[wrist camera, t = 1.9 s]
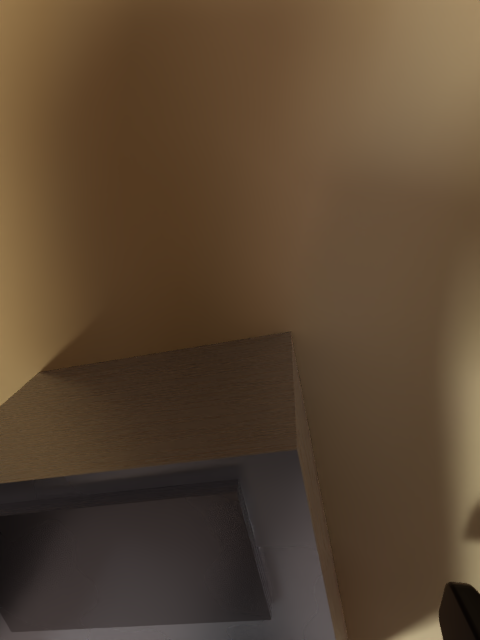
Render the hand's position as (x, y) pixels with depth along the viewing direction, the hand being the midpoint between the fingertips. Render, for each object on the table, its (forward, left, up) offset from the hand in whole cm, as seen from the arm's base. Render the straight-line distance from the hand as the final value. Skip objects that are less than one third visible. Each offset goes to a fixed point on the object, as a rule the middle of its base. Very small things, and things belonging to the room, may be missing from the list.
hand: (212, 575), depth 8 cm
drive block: (0, 0, -1) cm, 1 cm away
